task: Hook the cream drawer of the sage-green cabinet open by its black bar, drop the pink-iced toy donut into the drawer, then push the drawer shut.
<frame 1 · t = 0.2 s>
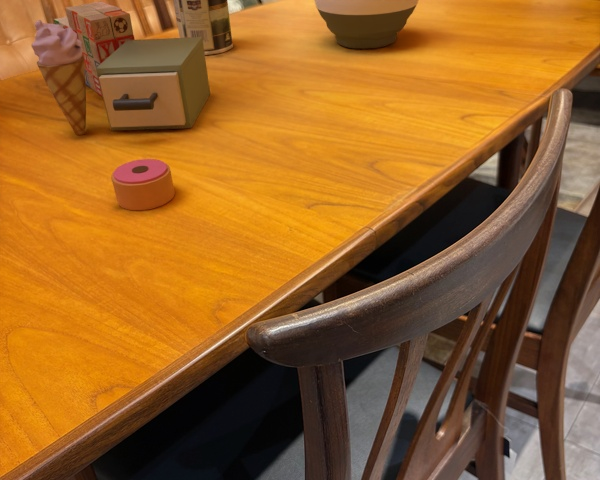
cabinet: (163, 111, 92), on the table
drawer: (151, 90, 86), point 4 cm above the table, slide at 0.0 cm
stack of blocks: (105, 84, 105), on the table
coffee can: (207, 49, 120), on the table
bowl: (366, 43, 117), on the table
donut: (146, 196, 69), on the table
ice cream cone: (81, 133, 87), on the table
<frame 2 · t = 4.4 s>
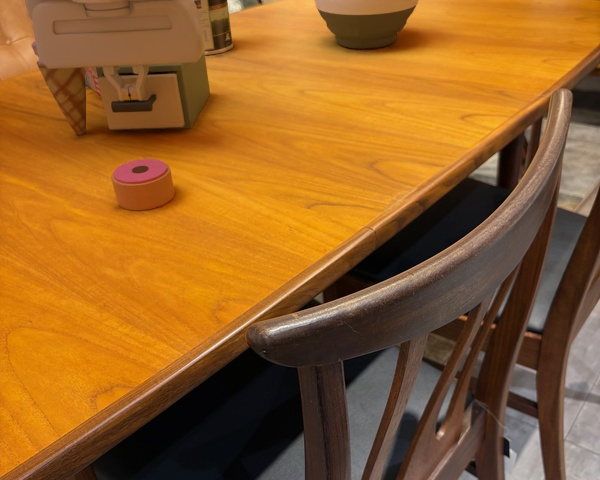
hand: (133, 99, 78), 6 cm above the table, tool pointing down, fingers closed, pressing on drawer
drawer: (149, 92, 86), point 4 cm above the table, slide at 0.7 cm, touching gripper
everything else where it was.
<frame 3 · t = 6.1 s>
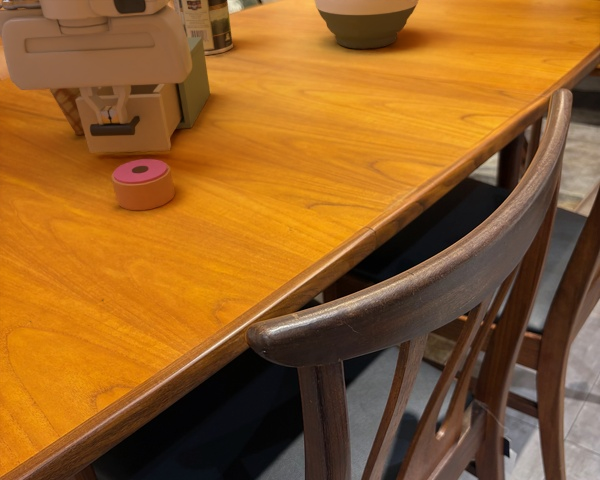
hand: (114, 122, 72), 6 cm above the table, tool pointing down, fingers closed, pressing on drawer
drawer: (133, 112, 79), point 4 cm above the table, slide at 8.7 cm, touching gripper
everything else where it was.
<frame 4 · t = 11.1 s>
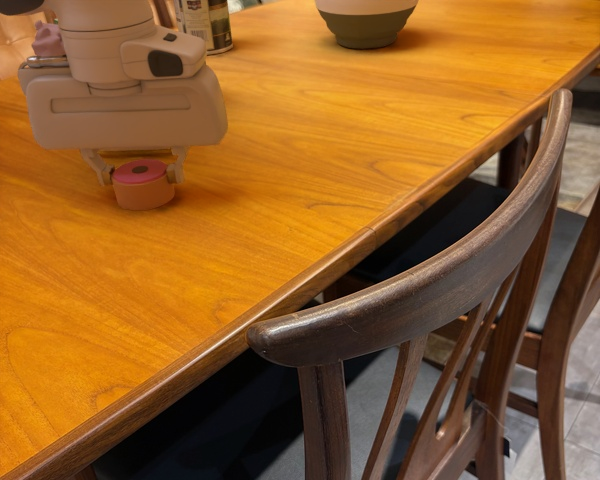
hand: (143, 182, 68), 2 cm above the table, tool pointing down, fingers closed on donut, 6 cm apart
drawer: (134, 111, 79), point 4 cm above the table, slide at 8.3 cm
donut: (146, 197, 69), on the table, touching gripper
everything else where it was.
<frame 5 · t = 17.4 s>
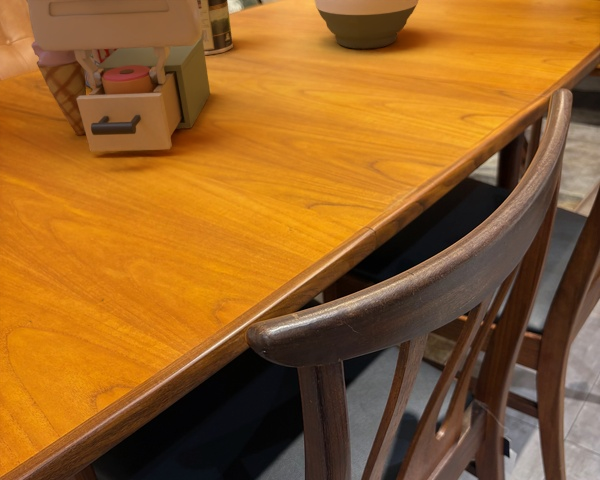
hand: (129, 83, 78), 8 cm above the table, tool pointing down, fingers closed on donut, 6 cm apart
donut: (132, 98, 79), point 6 cm above the table, touching gripper
everything else where it was.
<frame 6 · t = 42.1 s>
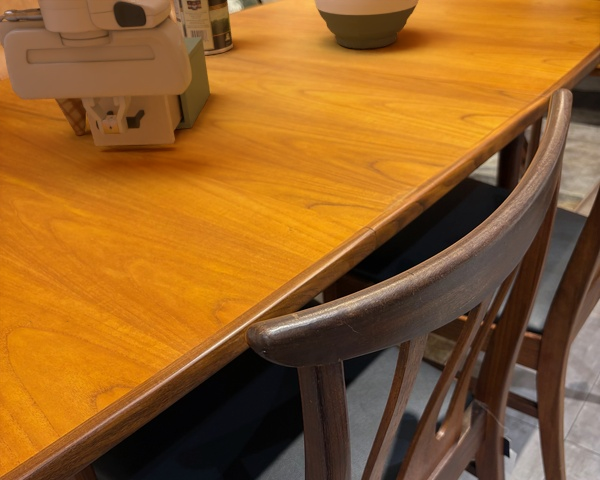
hand: (114, 132, 73), 5 cm above the table, tool pointing down, fingers closed, pressing on drawer
drawer: (138, 106, 81), point 4 cm above the table, slide at 6.5 cm, touching donut, gripper
donut: (143, 122, 83), point 2 cm above the table, touching drawer
everything else where it was.
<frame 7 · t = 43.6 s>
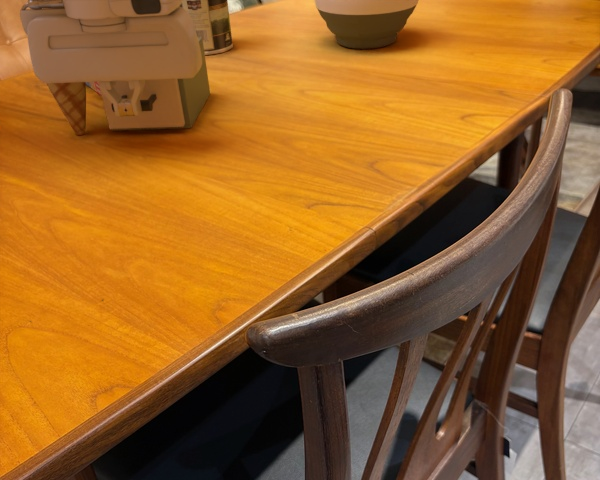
hand: (129, 114, 78), 5 cm above the table, tool pointing down, fingers closed, pressing on drawer
drawer: (150, 92, 86), point 4 cm above the table, slide at 0.5 cm, touching donut, gripper
donut: (154, 106, 88), point 2 cm above the table, touching drawer
everything else where it was.
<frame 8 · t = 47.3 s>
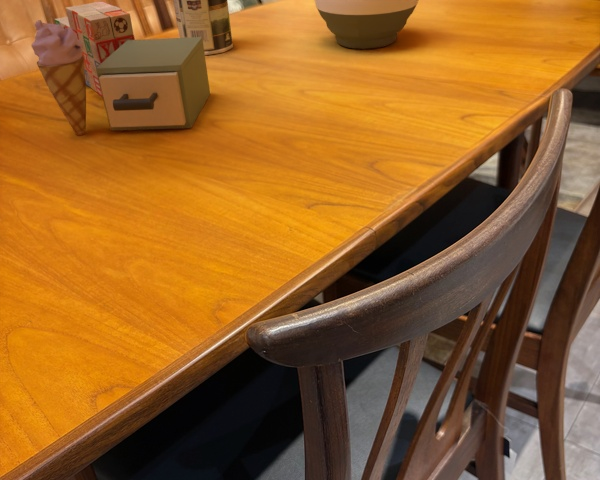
drawer: (151, 90, 86), point 4 cm above the table, slide at 0.0 cm, touching cabinet, donut
everything else where it was.
at the end: drawer pulled out 8.7 cm at the most during the clip, back to where it started at the end; donut inside the target area in the cabinet (3.3 cm from its centre), point 2.0 cm above the cabinet's base; drawer slide at 0.0 cm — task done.
